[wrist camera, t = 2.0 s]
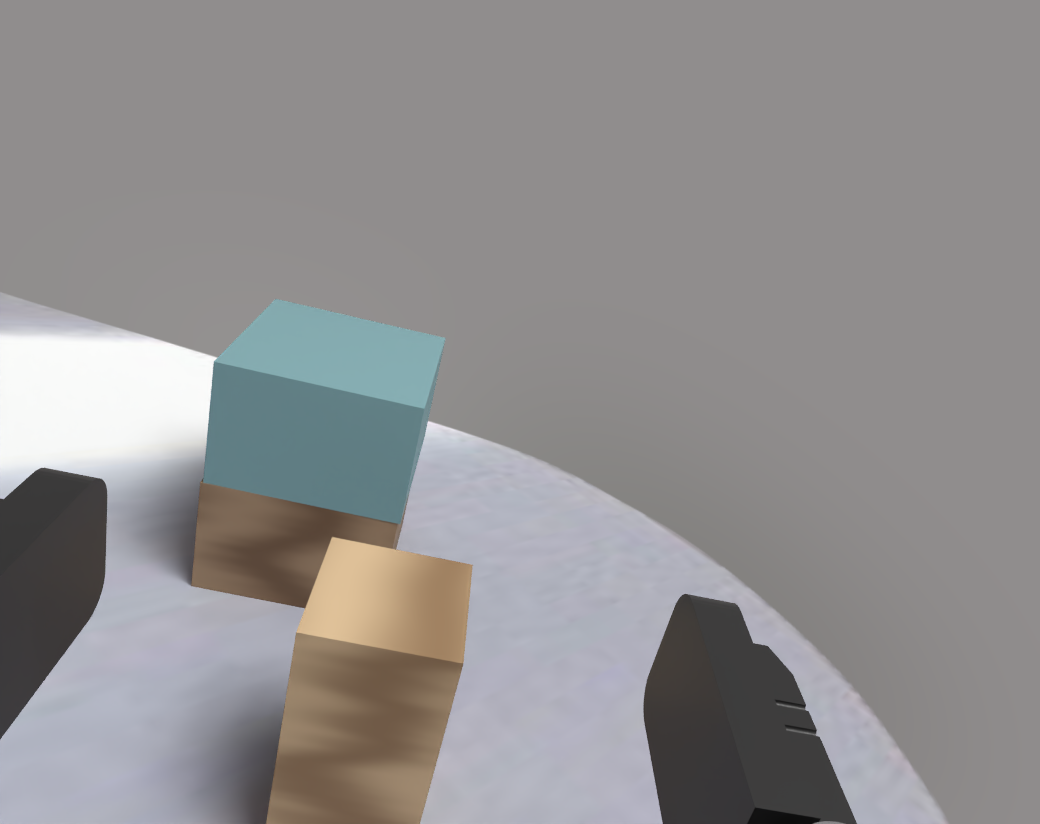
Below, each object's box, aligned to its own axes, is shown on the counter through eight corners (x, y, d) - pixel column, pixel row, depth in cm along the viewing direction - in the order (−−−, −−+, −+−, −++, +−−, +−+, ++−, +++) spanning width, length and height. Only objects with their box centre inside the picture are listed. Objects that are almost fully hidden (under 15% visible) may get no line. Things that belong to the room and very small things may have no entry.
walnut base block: (191, 588, 39) (200, 482, 37) (249, 492, 47) (259, 400, 45) (376, 624, 40) (397, 523, 38) (402, 524, 48) (421, 435, 46)
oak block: (260, 857, 28) (296, 632, 24) (296, 742, 33) (332, 537, 29) (404, 880, 29) (463, 663, 24) (420, 764, 33) (472, 564, 29)
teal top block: (203, 482, 37) (213, 361, 34) (263, 401, 45) (275, 298, 42) (400, 524, 38) (424, 408, 35) (424, 436, 46) (445, 338, 43)
